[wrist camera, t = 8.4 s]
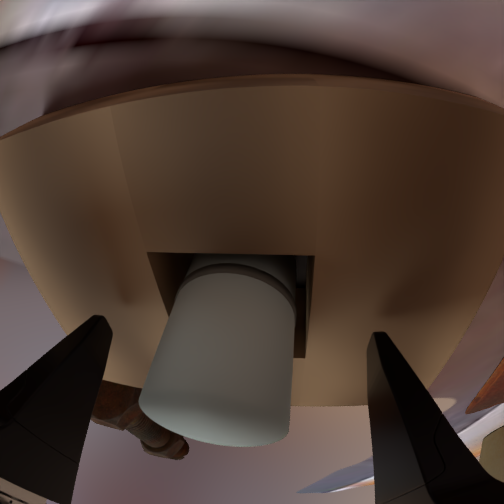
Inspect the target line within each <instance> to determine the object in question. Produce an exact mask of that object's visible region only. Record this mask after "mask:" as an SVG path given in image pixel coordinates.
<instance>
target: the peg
mask: <svg viewBox="0 0 504 504" xmlns="http://www.w3.org/2000/svg"><path fill="white" fill-rule="evenodd" d="M295 295H296V261H295V257H294V255H266V254H218V253H195V254H194V257H193V259H192V262H191V264H190V266H189V269H188V271H187V274H186V276H185V278H184V280H183V281H182V283H181V285H180V287H179V289H178V292H177V294H176V297H175V302H174V306H173V308H172V311H171V313H170V316H169V319H168V321H167V324H166V326H165V329H164V331H163V334H162V337H161V339H160V342H159V345H158V347H157V350H156V353H155V355H154V358H153V361H152V364H151V366H150V369H149V372H148V375H147V377H146V380H145V383H144V386H143V389H142V391H141V394H140V397H139V406H140V408H141V409H142V411H143V412H144V413H145V414H146V415H147V416H148V417H149V418H150V419H152V420H153V421H155V422H156V423H158V424H159V425H161V426H163V427H164V428H166V429H168V430H170V431H173V432H175V433H177V434H180V435H182V436H185V437H188V438H191V439H195V440H198V441H202V442H206V443H211V444H217V445H225V446H236V447H251V446H262V445H268V444H272V443H275V442H277V441H280V440H281V439H283V438H284V437H285V436H286V435H287V434H288V432H289V421H290V406H291V391H292V373H293V352H294V329H295V326H296V303H295Z"/></svg>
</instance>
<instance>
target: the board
mask: <svg viewBox="0 0 504 504" xmlns="http://www.w3.org/2000/svg"><path fill="white" fill-rule="evenodd" d="M0 212H1V214H2V217H3V219H4V222H5V224H6V226H7V228H8V231H9V233H10V235H11V237H12V239H13V242H14V244H15V246H16V248H17V250H18V252H19V254H20V256H21V258H22V260H23V262H24V264H25V266H26V268H27V269H28V272H29V273H30V275H31V277H32V279H33V281H34V283H35V284H36V286H37V288H38V290H39V291H40V293H41V295H42V297H43V298H44V300H45V302H46V303H47V305H48V306H49V308H50V310H51V311H52V313H53V315H54V316H55V318H56V319H57V321H58V322H59V324H60V325H61V327H62V329H63V330H64V331H65V333H66V334H67V336H68V335H69V334H70V333H71V332H72V331H74V330H75V329H76V328H77V327H79V326H80V325H81V324H82V323H84V322H85V321H86V320H87V319H89V318H90V317H91V316H93V315H103V316H104V317H105V318H106V319H107V321H108V323H109V325H110V327H111V328H112V331H113V338H112V342H111V346H110V350H109V355H108V359H107V364H106V368H105V372H104V376H103V379H102V380H106V381H110V382H115V383H119V384H123V385H128V386H132V387H137V388H142V389H143V386H144V383H145V380H146V377H147V375H148V372H149V369H150V366H151V364H152V361H153V358H154V355H155V353H156V350H157V347H158V345H159V342H160V339H161V337H162V334H163V331H164V329H165V326H166V324H167V321H168V319H169V316H170V313H171V311H172V308H173V306H174V302H175V297H176V294H177V292H178V289H179V287H180V285H181V283H182V281H183V280H184V278H185V276H186V274H187V271H188V269H189V266H190V264H191V262H192V259H193V257H194V254H195V253H218V254H266V255H308V256H307V274H306V288H296V295H295V303H296V326H295V329H294V352H293V373H292V391H291V406H358V405H368V399H367V355H366V353H367V346H368V343H369V341H370V338H371V335H372V333H373V332H378V331H384V332H386V333H387V334H388V336H389V337H390V338H391V340H392V341H393V342H394V344H395V345H396V347H397V348H398V349H399V351H400V352H401V353H402V355H403V356H404V358H405V359H406V360H407V362H408V363H409V365H410V366H411V368H412V369H413V370H414V372H415V373H416V375H417V376H418V378H419V379H420V380H421V382H422V383H423V385H424V386H425V388H426V389H428V388H429V386H430V385H431V384H432V382H433V381H434V380H435V378H436V377H437V375H438V374H439V373H440V371H441V370H442V368H443V367H444V365H445V364H446V362H447V361H448V359H449V358H450V356H451V355H452V353H453V352H454V350H455V349H456V347H457V345H458V344H459V342H460V340H461V339H462V337H463V336H464V334H465V332H466V331H467V329H468V327H469V325H470V324H471V322H472V320H473V318H474V317H475V315H476V313H477V311H478V309H479V307H480V305H481V304H482V302H483V300H484V298H485V296H486V294H487V292H488V290H489V288H490V286H491V284H492V282H493V279H494V277H495V275H496V273H497V271H498V269H499V266H500V264H501V262H502V259H503V257H504V109H503V108H501V107H499V106H496V105H494V104H492V103H490V102H487V101H485V100H482V99H480V98H478V97H474V96H471V95H467V94H463V93H458V92H454V91H450V90H445V89H440V88H435V87H430V86H425V85H419V84H413V83H407V82H400V81H393V80H385V79H377V78H367V77H356V76H343V75H324V74H262V75H243V76H229V77H218V78H208V79H199V80H191V81H184V82H177V83H171V84H164V85H159V86H153V87H148V88H142V89H137V90H133V91H128V92H123V93H119V94H115V95H110V96H106V97H102V98H99V99H95V100H91V101H87V102H84V103H80V104H77V105H74V106H70V107H67V108H64V109H61V110H58V111H55V112H52V113H49V114H46V115H43V116H40V117H38V118H36V119H34V120H32V121H30V122H28V123H26V124H24V125H22V126H20V127H18V128H16V129H14V130H12V131H10V132H8V133H7V134H5V135H3V136H1V137H0Z"/></svg>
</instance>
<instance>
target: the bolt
mask: <svg viewBox="0 0 504 504" xmlns="http://www.w3.org/2000/svg"><path fill="white" fill-rule="evenodd" d="M141 391H142V388H137V387H132V386H128V385H123V384H119V383H115V382H110V381H106V380H102V382H101V385H100V389H99V392H98V395H97V398H96V402H95V405H94V409H93V412H92V416H91V420H92V421H93V422H95V423H97V424H100V425H104V426H107V427H111V428H115V429H119V430H122V431H123V430H124V429H126V430H128V431H129V432H130V433H132V434H133V435H135V436H136V437H137V438H139V439H140V441H141V444H142V447H143V449H144V451H145V452H147V453H148V454H150V455H154V456H158V457H163V458H170V459H175V460H178V459H179V460H181V459H183V458H184V457H183V456H185V455H187V454H188V452H189V445H188V443H187V442H186V440H185V439H184V438H183V436H182V435H180V434H177V433H175V432H173V431H170V430H168V429H166V428H164V427H163V426H161V425H159V424H158V423H156V422H155V421H153V420H152V419H150V418H149V417H148V416H147V415H146V414H145V413H144V412H143V411H142V409H141V408H140V406H139V397H140V394H141Z"/></svg>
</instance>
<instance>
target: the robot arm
mask: <svg viewBox="0 0 504 504" xmlns="http://www.w3.org/2000/svg"><path fill="white" fill-rule="evenodd" d="M112 338H113V331H112V328H111V327H110V325H109V323H108V321H107V319H106V318H105V317H104V316H103V315H93V316H91V317H90V318H89V319H87V320H86V321H85V322H84V323H82V324H81V325H80V326H79V327H77V328H76V329H75V330H74V331H72V332H71V333H70V334H69V335H68V336H66V337H65V338H64V339H63V340H61V341H60V342H59V343H58V344H57V345H55V346H54V347H53V348H52V349H50V350H49V351H48V352H47V353H46V354H44V355H43V356H42V357H41V358H40V359H38V360H37V361H36V362H35V363H34V364H33V365H31V366H30V367H29V368H28V369H27V370H25V371H24V372H23V373H22V374H21V375H20V376H18V377H17V378H16V379H15V380H14V381H12V382H11V383H10V384H8V385H7V386H6V387H4V388H3V389H2V390H0V504H46V500H47V499H49V500H51V501H54V502H56V503H59V504H71V500H72V495H73V490H74V485H75V481H76V475H77V471H78V467H79V462H80V458H81V453H82V449H83V445H84V441H85V438H86V434H87V430H88V426H89V422H90V419H91V416H92V412H93V409H94V405H95V402H96V398H97V395H98V392H99V389H100V385H101V382H102V379H103V376H104V372H105V368H106V364H107V359H108V355H109V350H110V346H111V342H112ZM366 355H367V399H368V409H369V418H370V427H371V438H372V451H373V465H374V483H375V504H504V482H502V481H499V480H497V479H496V478H494V477H493V476H491V475H490V474H489V473H488V472H487V471H486V470H485V469H484V468H483V466H482V465H481V464H480V463H479V461H478V460H477V459H476V458H475V457H474V455H473V454H472V453H471V452H470V450H469V449H468V448H467V447H466V445H465V444H464V443H463V442H462V440H461V439H460V438H459V436H458V435H457V434H456V432H455V431H454V429H453V428H452V426H451V425H450V424H449V422H448V421H447V419H446V417H445V416H444V414H442V412H441V410H440V408H439V407H438V405H437V404H436V403H435V401H434V399H433V398H432V397H431V395H430V394H429V392H428V391H427V389H426V388H425V386H424V385H423V383H422V382H421V380H420V379H419V378H418V376H417V375H416V373H415V372H414V370H413V369H412V368H411V366H410V365H409V363H408V362H407V360H406V359H405V358H404V356H403V355H402V353H401V352H400V351H399V349H398V348H397V347H396V345H395V344H394V342H393V341H392V340H391V338H390V337H389V336H388V334H387V333H386V332H384V331H378V332H373V333H372V335H371V338H370V341H369V343H368V346H367V353H366Z"/></svg>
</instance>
